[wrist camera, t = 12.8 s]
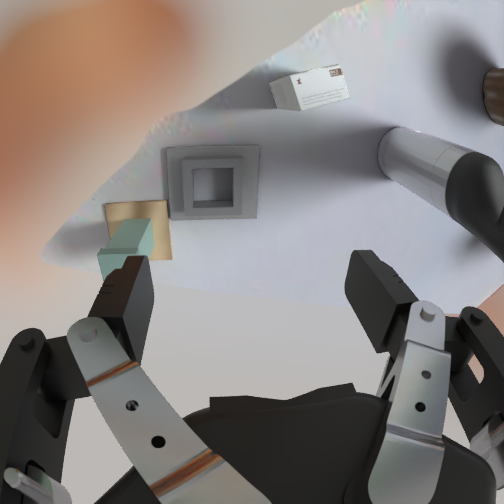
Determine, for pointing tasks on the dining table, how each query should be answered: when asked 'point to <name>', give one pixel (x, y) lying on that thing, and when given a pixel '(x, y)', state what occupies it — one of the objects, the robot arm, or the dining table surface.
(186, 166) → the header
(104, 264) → the plug
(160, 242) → the cork pad
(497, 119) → the plant pot
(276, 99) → the skincare box
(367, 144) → the dining table surface
